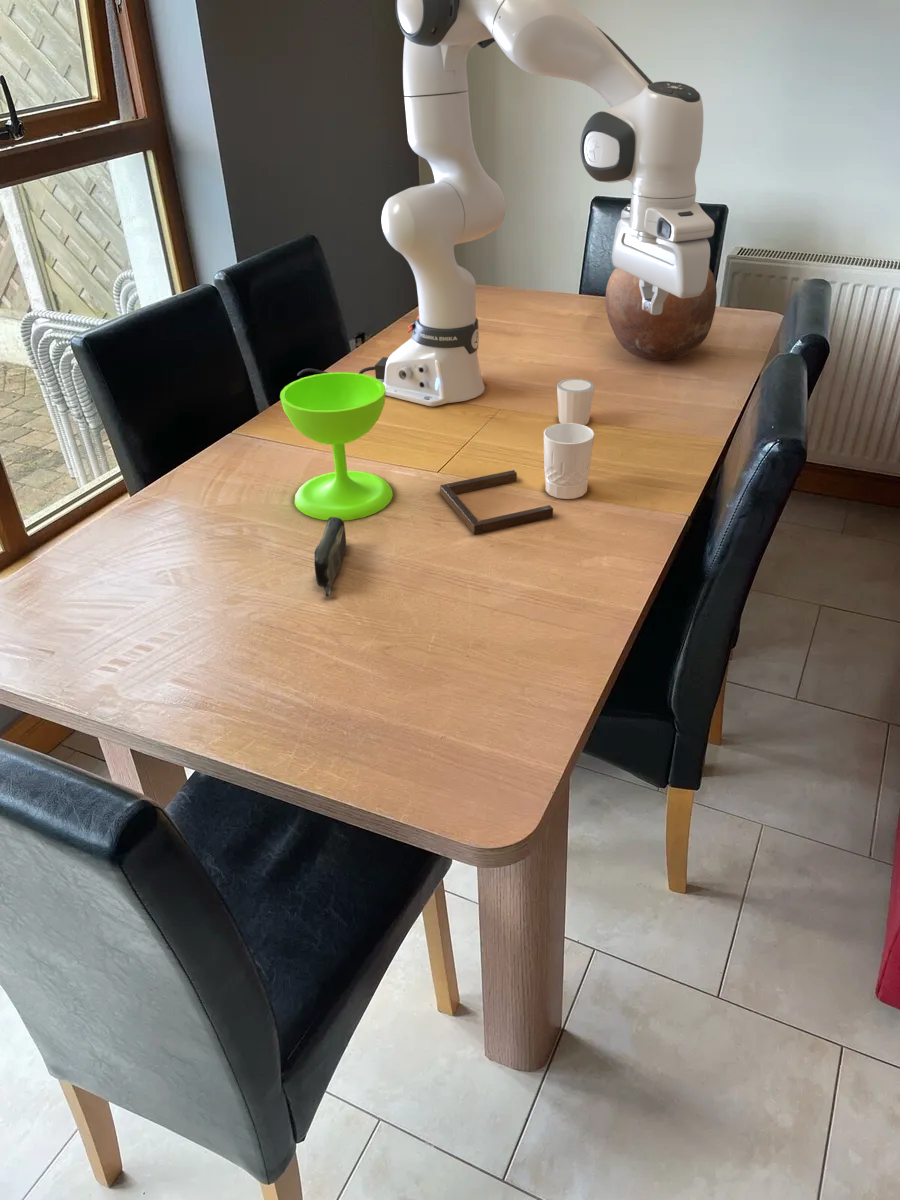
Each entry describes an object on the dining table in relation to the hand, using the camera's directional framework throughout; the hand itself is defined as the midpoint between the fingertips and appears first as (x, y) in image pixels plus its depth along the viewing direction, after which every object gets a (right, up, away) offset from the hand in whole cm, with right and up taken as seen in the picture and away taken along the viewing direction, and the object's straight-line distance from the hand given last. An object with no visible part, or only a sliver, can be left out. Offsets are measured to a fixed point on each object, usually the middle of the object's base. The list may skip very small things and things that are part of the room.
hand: (651, 312), depth 137 cm
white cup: (-11, -25, +12) cm, 30 cm away
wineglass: (-48, -27, +12) cm, 56 cm away
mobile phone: (-47, -39, -6) cm, 62 cm away
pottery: (+14, +10, +62) cm, 65 cm away
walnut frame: (-23, -28, +8) cm, 37 cm away
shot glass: (-7, -10, +34) cm, 36 cm away
